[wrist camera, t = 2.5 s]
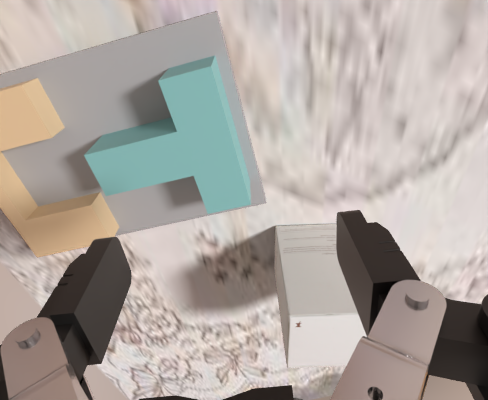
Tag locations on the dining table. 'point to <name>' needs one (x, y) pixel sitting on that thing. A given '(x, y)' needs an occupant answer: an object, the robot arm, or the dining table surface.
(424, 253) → the dining table surface
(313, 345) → the supplement box
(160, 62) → the slot board
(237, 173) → the tee block
